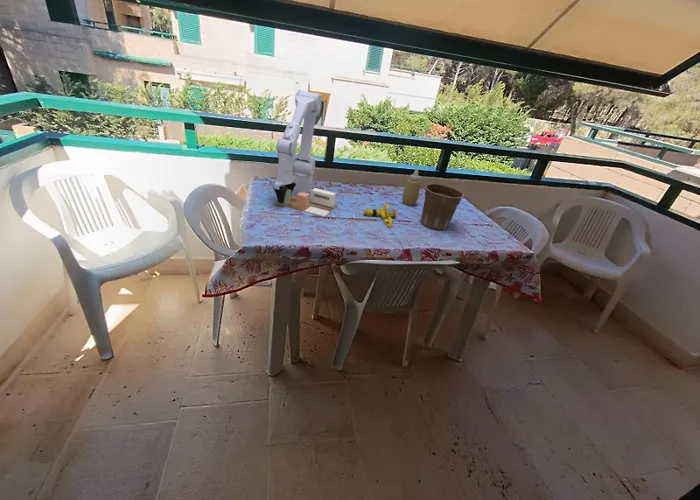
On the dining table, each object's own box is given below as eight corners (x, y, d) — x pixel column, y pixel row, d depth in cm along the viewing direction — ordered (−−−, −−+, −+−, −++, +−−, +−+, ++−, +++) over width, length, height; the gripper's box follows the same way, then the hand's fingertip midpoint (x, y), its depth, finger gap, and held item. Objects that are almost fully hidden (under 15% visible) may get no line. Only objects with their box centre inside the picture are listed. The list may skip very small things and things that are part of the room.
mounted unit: (312, 199, 148) (313, 186, 145) (337, 205, 145) (338, 193, 142) (308, 202, 144) (309, 189, 141) (333, 209, 141) (334, 196, 138)
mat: (310, 207, 140) (310, 206, 139) (329, 212, 138) (329, 211, 137) (304, 211, 135) (304, 210, 134) (324, 217, 133) (324, 216, 132)
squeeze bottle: (413, 208, 160) (422, 172, 151) (398, 203, 163) (406, 167, 154) (418, 203, 166) (427, 169, 157) (404, 199, 169) (412, 165, 160)
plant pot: (459, 228, 146) (470, 193, 138) (440, 236, 135) (451, 199, 127) (429, 214, 155) (438, 181, 147) (409, 221, 144) (418, 186, 137)
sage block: (282, 200, 142) (282, 187, 139) (290, 202, 141) (291, 189, 138) (277, 203, 138) (278, 190, 135) (285, 205, 137) (286, 192, 134)
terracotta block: (300, 205, 140) (301, 191, 137) (308, 207, 139) (309, 194, 136) (296, 208, 137) (297, 194, 134) (304, 210, 136) (305, 196, 133)
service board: (290, 195, 151) (290, 193, 150) (336, 208, 146) (337, 205, 145) (274, 205, 138) (274, 203, 138) (324, 219, 133) (324, 217, 133)
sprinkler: (361, 198, 148) (393, 200, 150) (360, 206, 150) (391, 208, 153) (368, 222, 133) (403, 224, 135) (366, 230, 135) (401, 232, 138)
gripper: (285, 163, 139) (284, 193, 146) (267, 171, 127) (266, 203, 134) (300, 167, 138) (298, 197, 144) (283, 175, 126) (282, 207, 132)
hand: (284, 200), depth 139 cm, fingers open, 5 cm apart
